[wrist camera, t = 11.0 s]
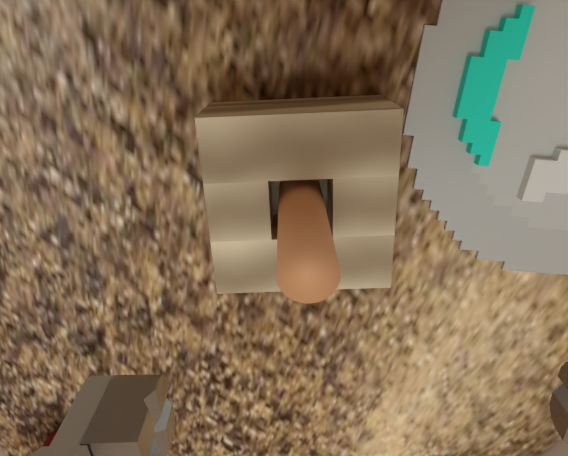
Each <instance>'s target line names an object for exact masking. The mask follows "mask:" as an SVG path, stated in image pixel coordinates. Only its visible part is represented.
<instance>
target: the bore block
mask: <svg viewBox="0 0 568 456" xmlns="http://www.w3.org/2000/svg"><path fill="white" fill-rule="evenodd" d="M403 111H404V109H403V108H401V107H400V106H398V105H397V104H395V103H394V102H392V101H391V100H389V99H388V98H386V97H385V96H383V95H365V96H342V97H319V98H297V99H274V100H252V101H229V102H211V103H210V104H209V105H208V106H207V107H206V108H205V109H204V110H202V111H201V112H200V113H199V114H198V115H197V116H196V117H195V124H196V132H197V140H198V148H199V155H200V163H201V171H202V179H203V187H204V195H205V202H206V210H207V218H208V226H209V234H210V241H211V249H212V257H213V265H214V273H215V281H216V288H217V294H221V293H249V292H276V291H281V290H280V288H279V286H278V284H277V280H276V266H277V233H278V200H279V184H280V182H281V181H289V180H313V179H318V180H319V182H320V186H321V190H322V195H323V199H324V203H325V207H326V211H327V216H328V220H329V224H330V228H331V233H332V237H333V241H334V245H335V249H336V254H337V258H338V262H339V266H340V271H341V279H340V283H339V285H338V287H337V289H359V288H387V287H391V278H392V264H393V250H394V236H395V222H396V208H397V194H398V180H399V166H400V152H401V138H402V124H403Z"/></svg>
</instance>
